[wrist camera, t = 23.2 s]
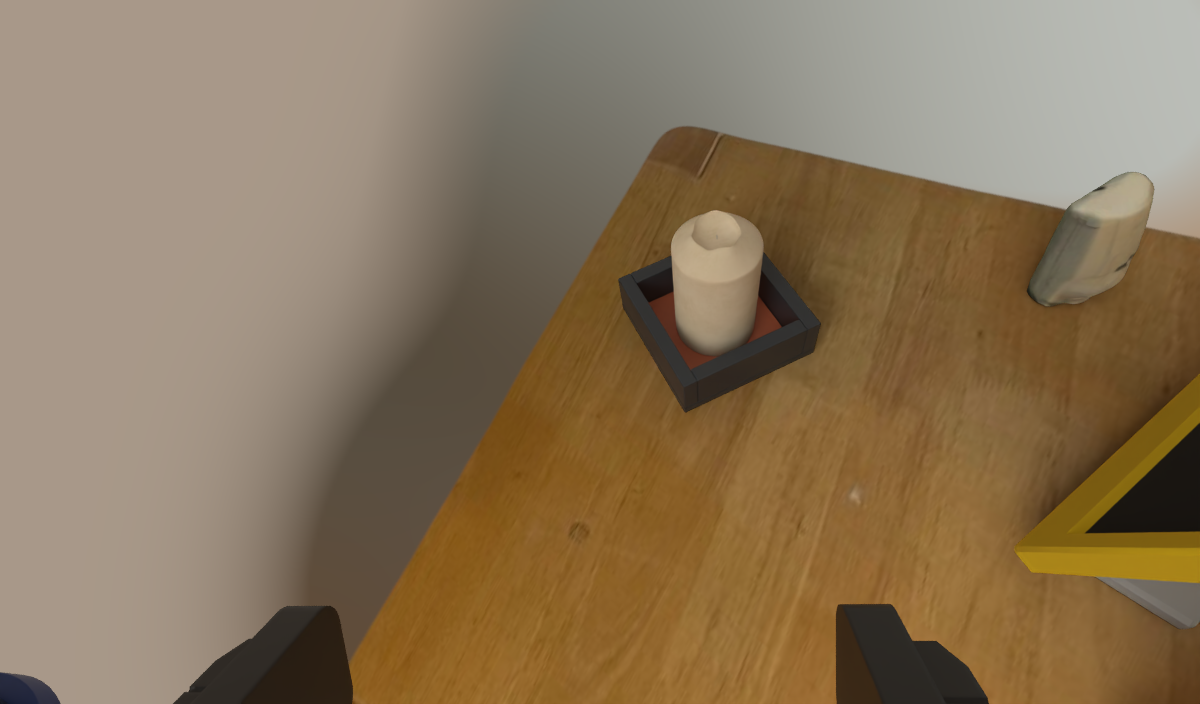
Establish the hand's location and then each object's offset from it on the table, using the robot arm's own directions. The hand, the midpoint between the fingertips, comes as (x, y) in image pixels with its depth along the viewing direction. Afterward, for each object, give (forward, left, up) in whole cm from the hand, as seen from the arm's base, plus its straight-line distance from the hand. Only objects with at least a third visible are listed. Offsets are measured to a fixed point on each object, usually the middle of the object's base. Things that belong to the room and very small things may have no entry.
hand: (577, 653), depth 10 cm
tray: (+14, +21, -29) cm, 38 cm away
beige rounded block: (+37, +13, -29) cm, 49 cm away
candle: (+14, +21, -28) cm, 38 cm away
